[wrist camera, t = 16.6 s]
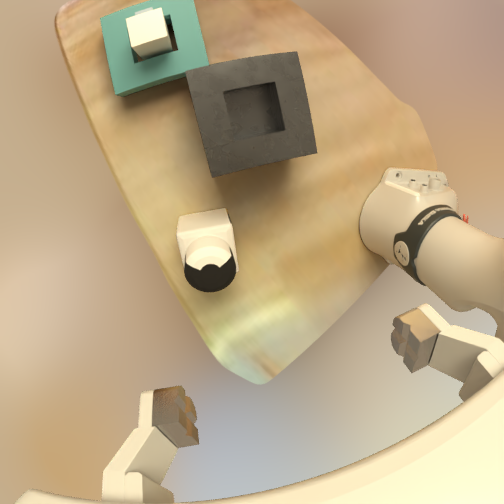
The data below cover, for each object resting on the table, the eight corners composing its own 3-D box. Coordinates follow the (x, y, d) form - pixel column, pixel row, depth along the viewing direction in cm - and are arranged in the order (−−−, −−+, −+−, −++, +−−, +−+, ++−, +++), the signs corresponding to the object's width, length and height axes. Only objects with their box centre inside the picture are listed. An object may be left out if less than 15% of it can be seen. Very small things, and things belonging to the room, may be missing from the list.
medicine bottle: (232, 250, 45) (245, 293, 35) (187, 258, 45) (187, 304, 34) (226, 206, 42) (237, 239, 32) (178, 215, 41) (172, 251, 31)
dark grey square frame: (273, 65, 34) (297, 51, 25) (290, 144, 40) (317, 153, 31) (187, 83, 33) (185, 71, 24) (208, 164, 39) (212, 177, 30)
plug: (167, 25, 29) (160, 2, 21) (173, 53, 31) (167, 35, 23) (139, 33, 28) (124, 13, 20) (145, 62, 31) (131, 47, 23)
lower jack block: (191, 0, 27) (190, -11, 24) (208, 71, 33) (209, 65, 29) (108, 26, 27) (100, 18, 23) (123, 96, 32) (115, 94, 29)
